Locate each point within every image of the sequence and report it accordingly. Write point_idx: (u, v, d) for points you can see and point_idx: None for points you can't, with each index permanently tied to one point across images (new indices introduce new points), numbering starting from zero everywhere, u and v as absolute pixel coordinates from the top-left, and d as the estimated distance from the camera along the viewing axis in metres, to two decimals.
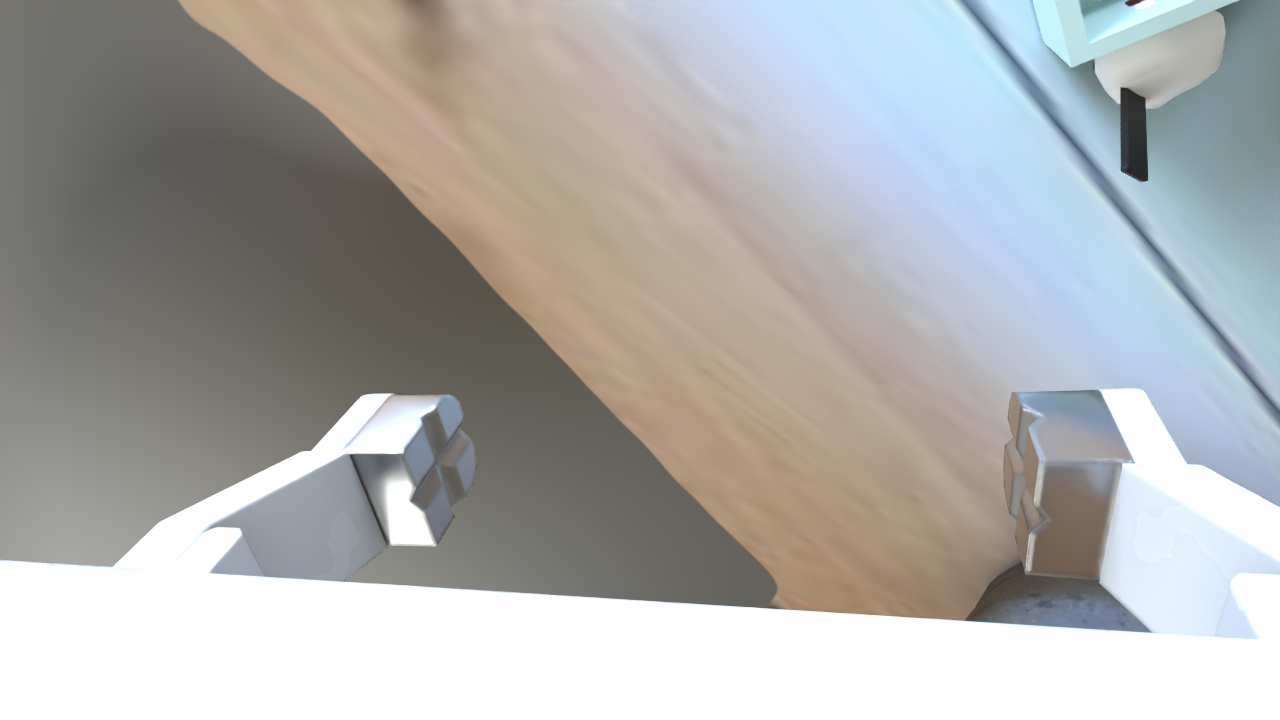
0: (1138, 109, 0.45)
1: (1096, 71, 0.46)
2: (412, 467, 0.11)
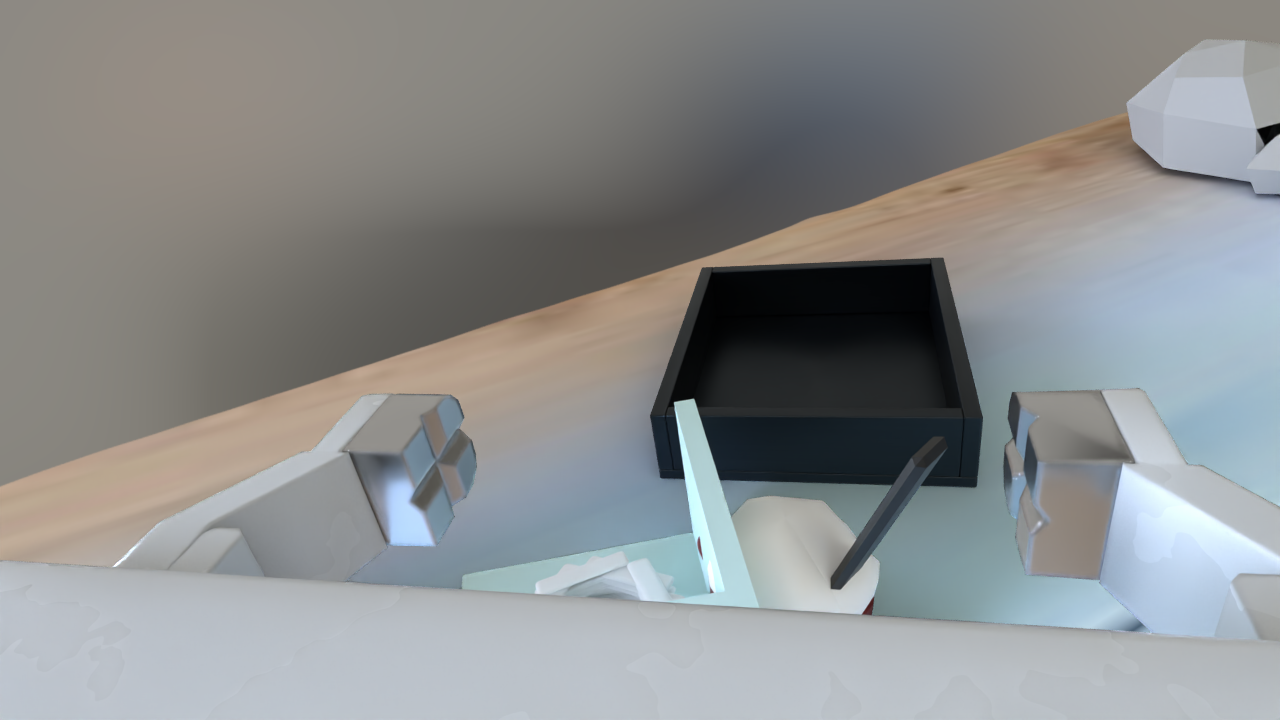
0: None
1: None
2: (413, 466, 0.11)
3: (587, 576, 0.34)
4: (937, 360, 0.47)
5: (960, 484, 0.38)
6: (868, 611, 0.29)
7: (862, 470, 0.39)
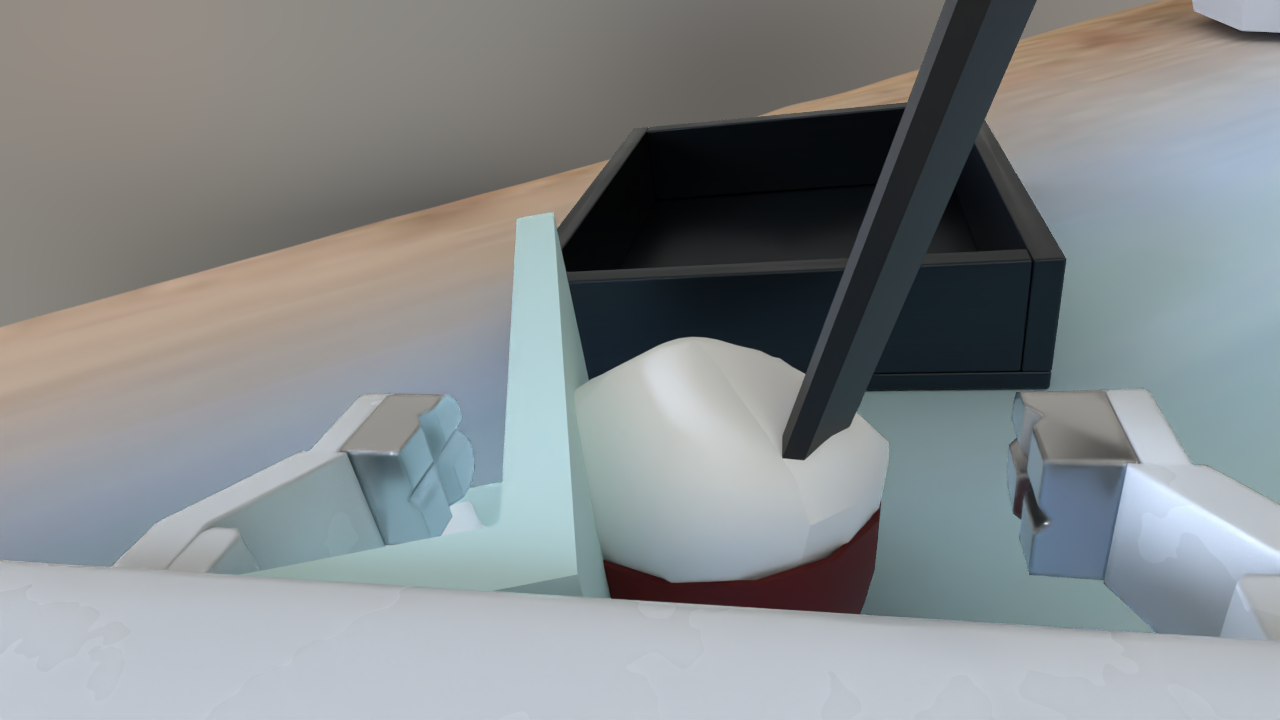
0: None
1: (721, 539, 0.12)
2: (410, 467, 0.11)
3: None
4: (968, 229, 0.32)
5: (1022, 385, 0.23)
6: (869, 532, 0.13)
7: None
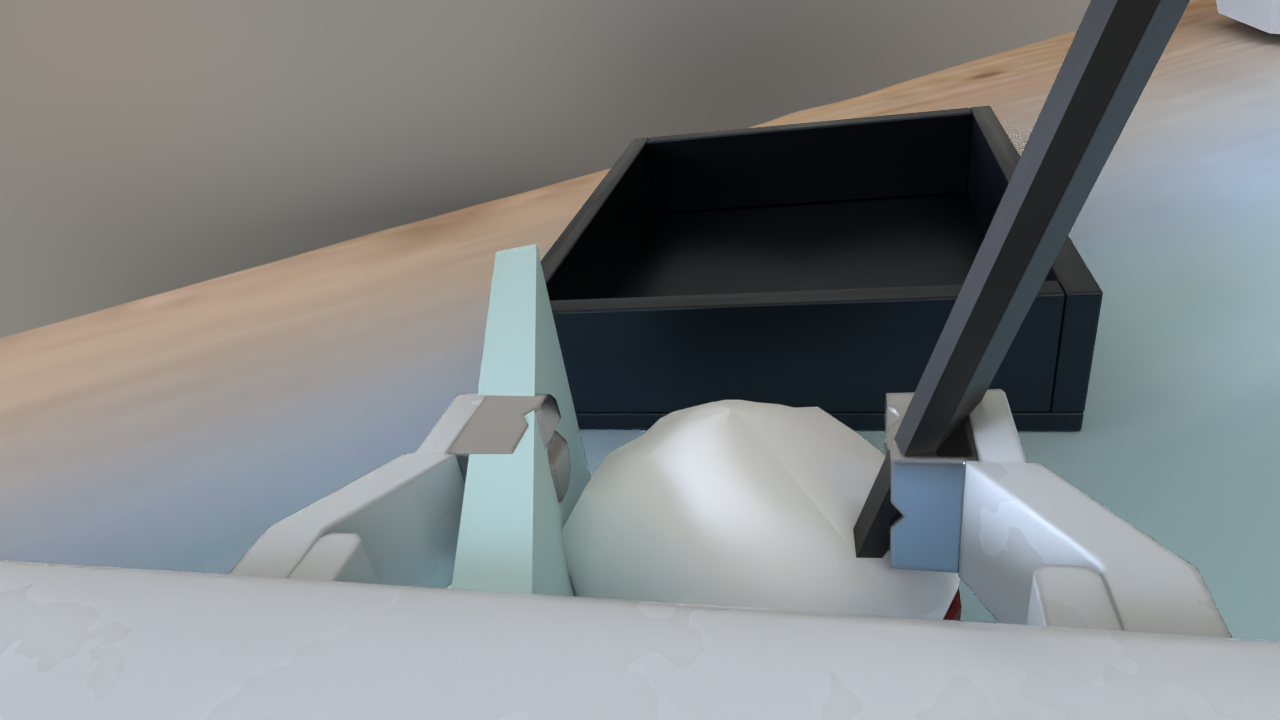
0: None
1: None
2: None
3: None
4: None
5: (1051, 426, 0.21)
6: None
7: (872, 405, 0.22)
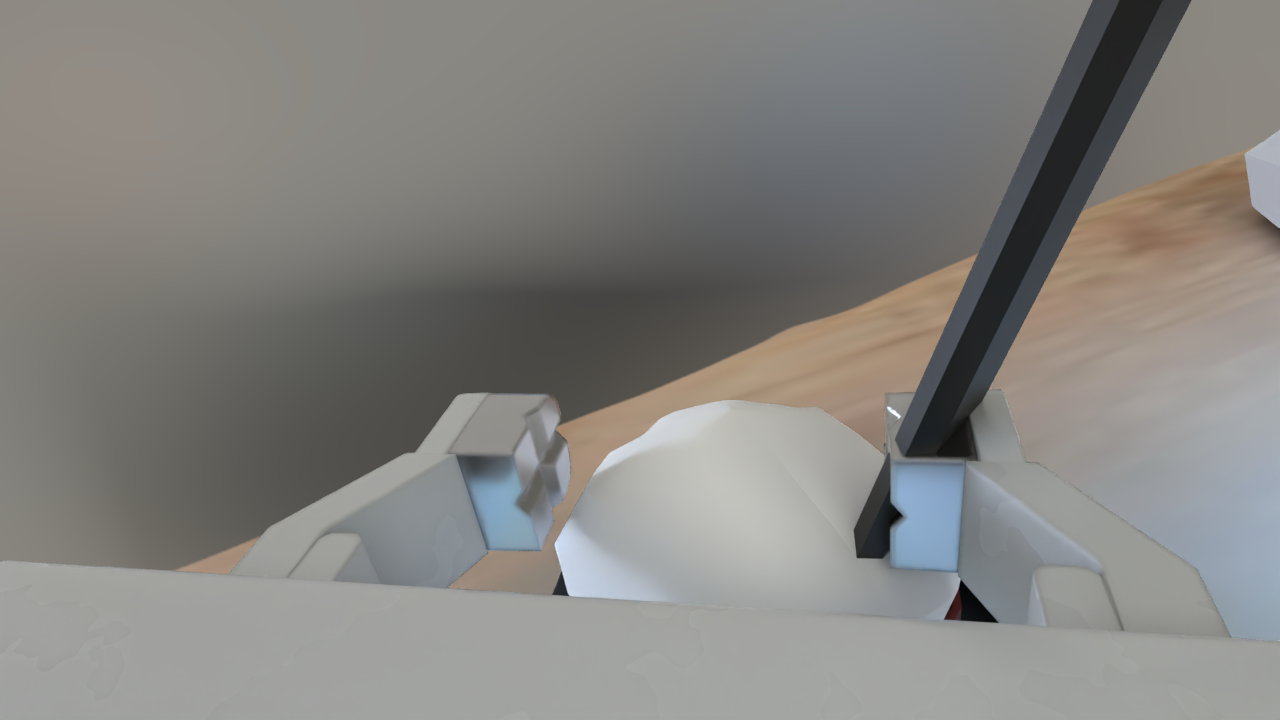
0: None
1: None
2: (521, 468, 0.11)
3: None
4: None
5: None
6: None
7: None
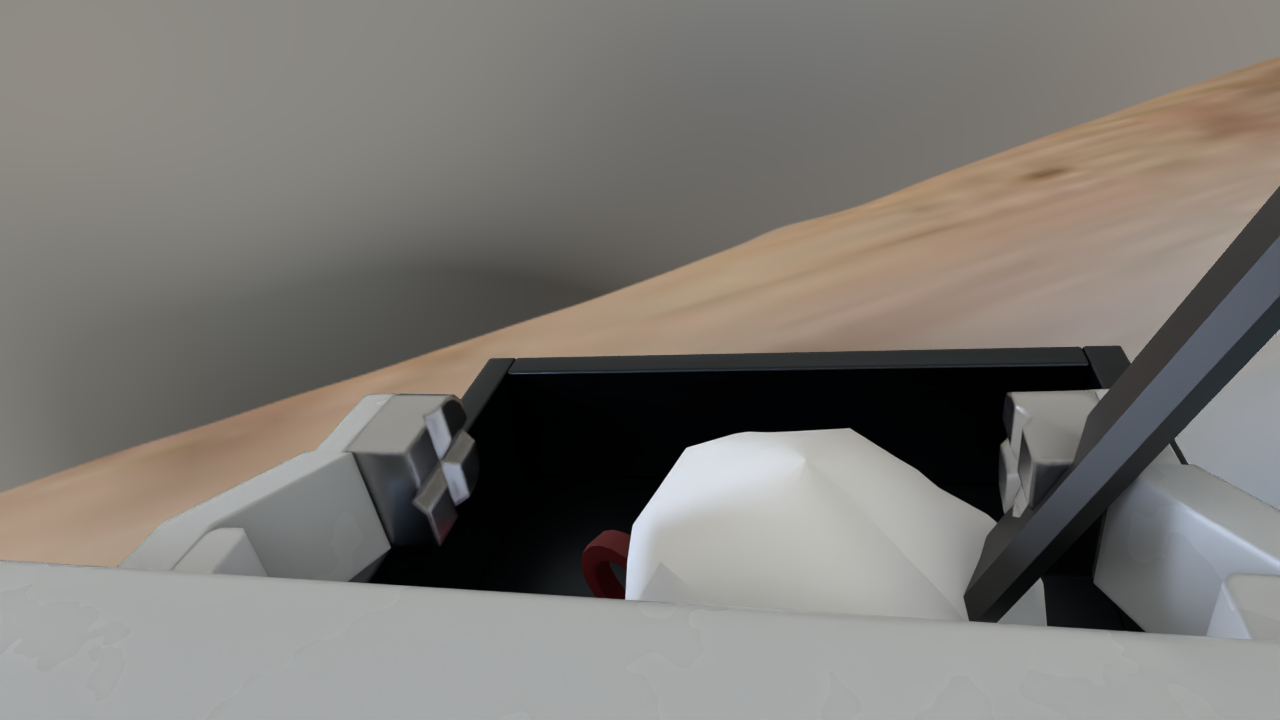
0: None
1: None
2: (416, 467, 0.11)
3: None
4: None
5: None
6: None
7: None
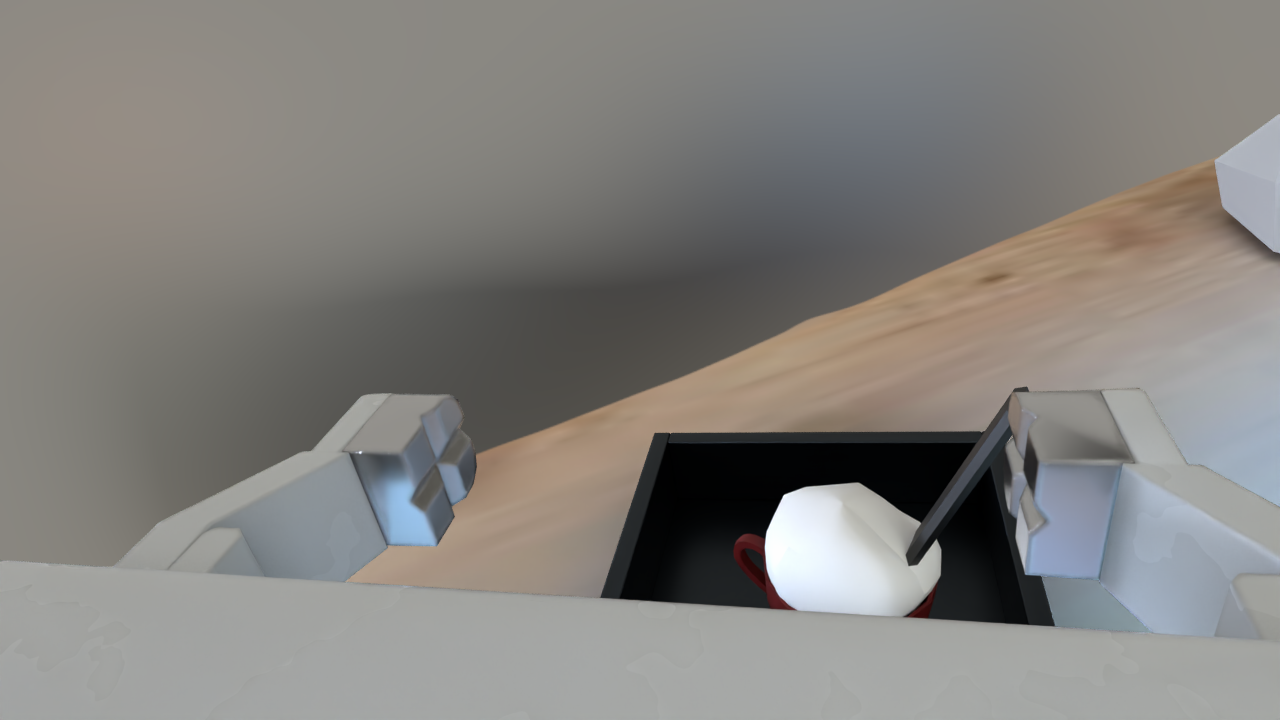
0: (930, 513, 0.26)
1: (893, 611, 0.26)
2: (413, 467, 0.11)
3: None
4: (1001, 609, 0.31)
5: None
6: (936, 583, 0.28)
7: None
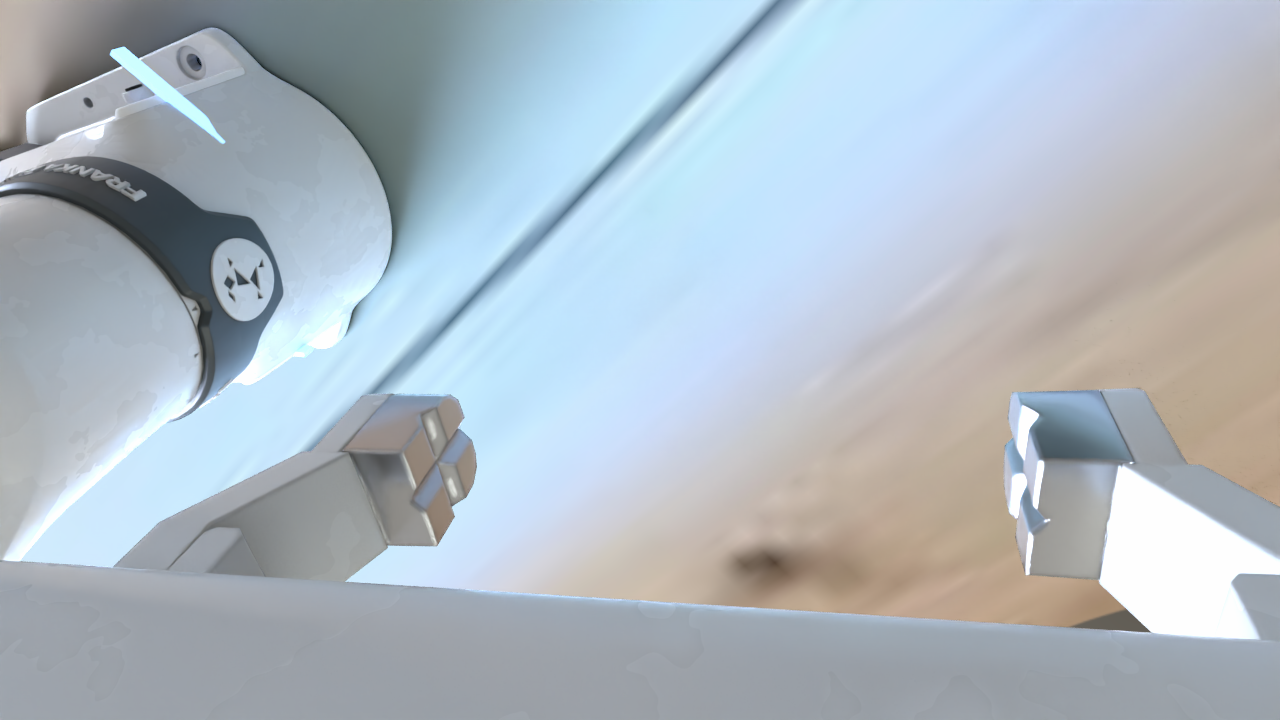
0: None
1: None
2: (413, 466, 0.11)
3: None
4: None
5: None
6: None
7: None
